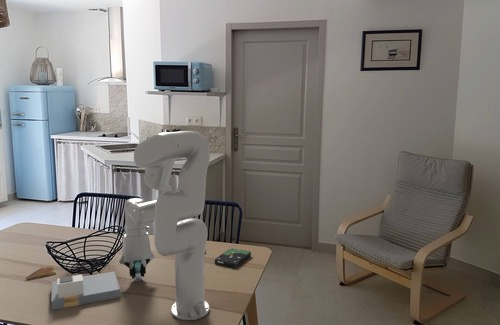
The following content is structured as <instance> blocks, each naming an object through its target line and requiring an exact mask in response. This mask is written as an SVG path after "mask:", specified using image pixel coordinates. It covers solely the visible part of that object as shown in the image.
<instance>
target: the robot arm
mask: <svg viewBox="0 0 500 325" xmlns="http://www.w3.org/2000/svg"><path fill="white" fill-rule="evenodd" d="M210 158H211V149H210V145H209V141H208V139H207V138H206V137H205V135H203V134H202V133H201V132H198V131H195V130H182V131H181V130H179V131H171V132H170V131H169V132H159V133H156V134H153V135H152V136H150V137H148V138H146V139H145V140H143V141H141V142H140V143H138V144H137V146H136V147H135V148H134V152H133V161H134V164H135V165H136V167H137V168H139V169H145V171H144V172H145V173H144V175H143V182H144V184H145V185H146V186H147V187H149V188H150V189H153V190H154V191H155V190H156V191H159V192H160V194H159V195H158V197H157V199H155V200H151V201H150V200H149V201H145V199H143V198H141V197H134V198H129V199H127V200H126V201H125V202H124V219H125V221H124V222H125V234H123V238H122V255H121V257H120V259H119V261H118V262H119V264H121V265H124V266H125V267H127V268H128V270H129V277H131V279H133V280H134V268H133V261H137V260H142V278H145V275H146V274H147V273H146V272H147V271H146V270H147V269H146V268H147V267H148V266H147V265H148V264H149V263H150V262H151V261H152V260H154V259H155V258H156V256H155V255H154V254H153V253H154V252H152V249H151V248H152V247H151V241H150V236H149V232H148V231H149V230H151V226H147V224H150V223H153V222H154V225H153V226H154V227H153V240H154V241H153V242H154V247H155V250H156V251H157V253H158V254H159V255H160V256H163V257H170V256H174V255H176V257H175V261H174V262H175V263H174V265H175V266H174V268H175V269H174V272H175V273H174V275H175V303H173V305H171V311H170V312H171V314H172V316H173V317H174V318H176V319H178V320H182V321H196V320H200V319H202V318H203V317H205V316H207V315H208V313H209V312H210V305H209V303H208V301H206V297H205V296H206V295H205V292H206V291H205V264H206V263H205V257H206V256H205V250H206V247H207V240H208V228H207V224H206V223H205V222H204V221H203V220H201V219H200V218H195V217H197V216H200V215H201V214H202V213H203V212H204V209H205V203H206V202H205V201H206V191H207V190H206V187H207V173H208V168H209V164H210ZM179 159H181V160H182V159H186V161H185V162H184V163H183V164H182V166H181V169H180V171H179V174H178V183H177V184H178V185H177V188H176V189H174V190H172V187H171V185H170V184H169V181H170V179H171V176H172V172H173V169H174V166H175V162H176V160H179Z"/></svg>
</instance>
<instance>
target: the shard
mask: <svg viewBox="0 0 500 325" xmlns="http://www.w3.org/2000/svg"><path fill="white" fill-rule="evenodd" d="M56 274H57V271H56V268H55V265H50V266H46V267H41V268H39V269H37V270H36V271H34V272H33V273H31V274H29V275H28V276H26V277H25V279H26V280H27V279H29V280H33V279H32V278H34V279H37V277H38V278H41V276H42V277H46V276H52V275H56Z"/></svg>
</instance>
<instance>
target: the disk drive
mask: <svg viewBox="0 0 500 325" xmlns="http://www.w3.org/2000/svg"><path fill="white" fill-rule="evenodd" d="M249 257H250V258H251V257H252V252H251V251H249V250H243V249H237V248H233V247H231V248H230V249H228V250H226V251H225V252H223V253H221V254H220V255H219V256H218V257H215V259H214V265H218V266H223V267H227V268H232V269H237V268H238V267H239V266H241V264H244V262H246V261H247V260H248V259H250V258H249ZM246 259H247V260H246ZM245 260H246V261H245Z"/></svg>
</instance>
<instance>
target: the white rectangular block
mask: <svg viewBox="0 0 500 325" xmlns="http://www.w3.org/2000/svg"><path fill="white" fill-rule="evenodd" d="M56 281H57V288H58V298H64V297H70V296H75V295H81V294H84V289H83V274H77V275H71V276H63V277H60V278H57V280H56Z"/></svg>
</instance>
